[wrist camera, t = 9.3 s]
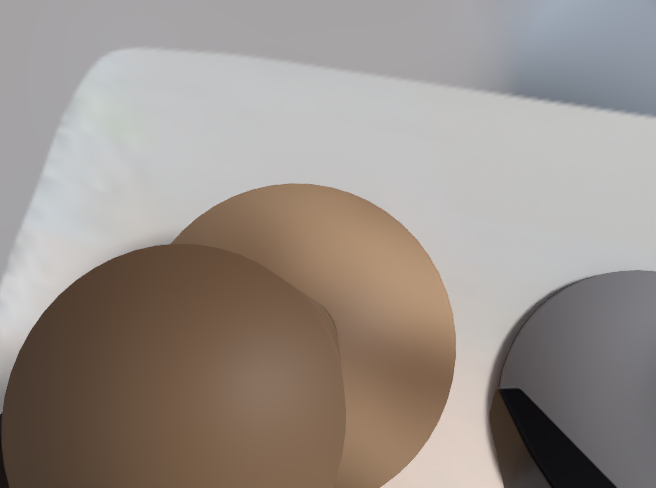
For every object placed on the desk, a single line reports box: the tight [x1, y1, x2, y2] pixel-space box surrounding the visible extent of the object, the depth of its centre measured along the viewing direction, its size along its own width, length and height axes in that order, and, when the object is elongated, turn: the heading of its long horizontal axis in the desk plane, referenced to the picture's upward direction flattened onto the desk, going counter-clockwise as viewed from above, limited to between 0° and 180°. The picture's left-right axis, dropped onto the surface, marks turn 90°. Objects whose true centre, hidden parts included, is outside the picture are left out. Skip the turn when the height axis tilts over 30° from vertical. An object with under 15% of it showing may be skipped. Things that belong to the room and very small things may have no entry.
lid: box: [1, 184, 456, 488], centre depth 10 cm, size 11×11×13 cm
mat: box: [499, 270, 656, 488], centre depth 21 cm, size 13×13×1 cm
